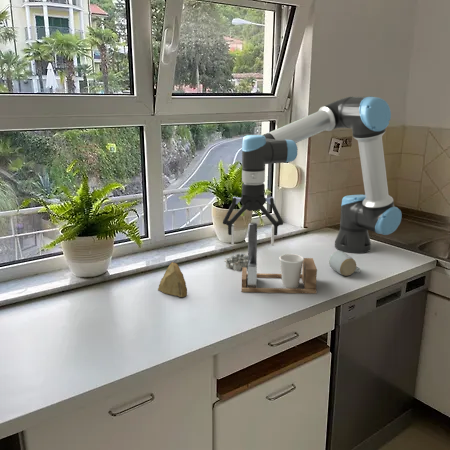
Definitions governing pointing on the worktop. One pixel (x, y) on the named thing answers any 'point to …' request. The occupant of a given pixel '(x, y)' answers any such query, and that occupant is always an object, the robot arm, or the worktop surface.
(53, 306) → the worktop surface
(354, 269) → the ceramic mug
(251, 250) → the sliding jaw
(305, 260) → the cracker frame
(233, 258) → the egg carton
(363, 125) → the robot arm
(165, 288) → the rock
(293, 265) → the dixie cup
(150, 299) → the worktop surface
